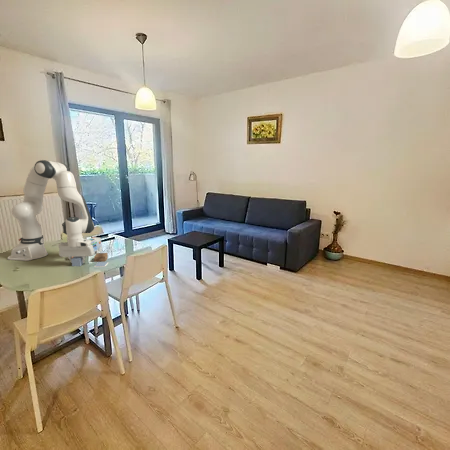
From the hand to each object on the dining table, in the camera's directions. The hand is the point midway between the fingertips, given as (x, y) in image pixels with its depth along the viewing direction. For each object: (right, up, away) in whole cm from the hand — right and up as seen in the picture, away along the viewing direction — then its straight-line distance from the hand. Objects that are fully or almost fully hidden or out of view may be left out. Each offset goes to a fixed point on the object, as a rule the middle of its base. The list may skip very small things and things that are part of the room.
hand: (77, 262), depth 166 cm
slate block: (0, -2, 0) cm, 2 cm away
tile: (+15, -2, +1) cm, 15 cm away
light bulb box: (-1, +4, +22) cm, 22 cm away
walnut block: (+11, 0, +10) cm, 15 cm away
